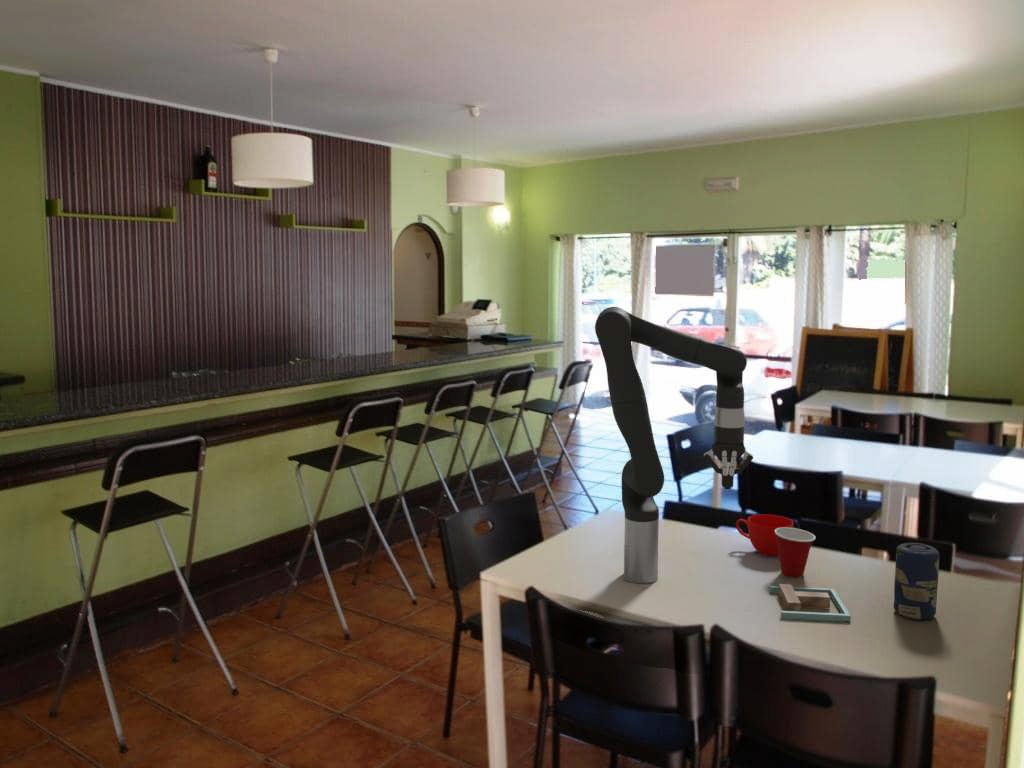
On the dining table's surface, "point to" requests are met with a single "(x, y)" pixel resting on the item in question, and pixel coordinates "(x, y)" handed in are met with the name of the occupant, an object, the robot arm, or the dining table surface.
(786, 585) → the t block
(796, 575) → the plastic cup
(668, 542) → the dining table surface
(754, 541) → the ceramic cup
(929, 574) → the canister
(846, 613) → the dock
